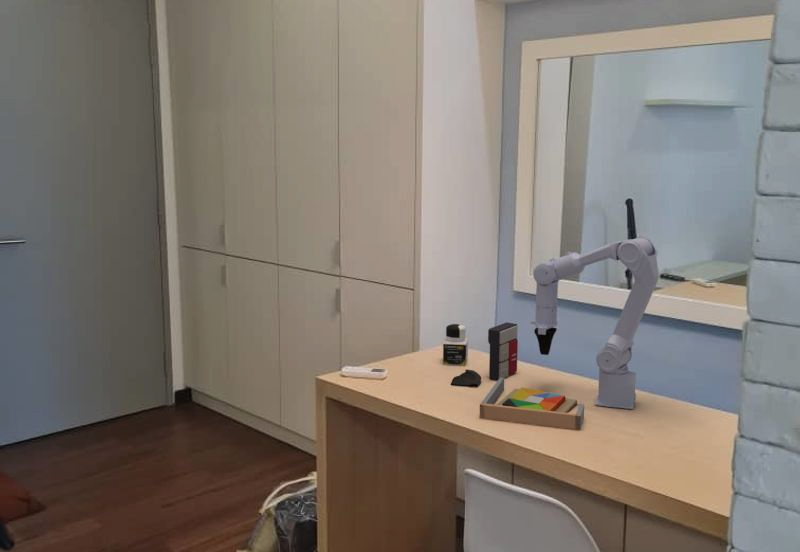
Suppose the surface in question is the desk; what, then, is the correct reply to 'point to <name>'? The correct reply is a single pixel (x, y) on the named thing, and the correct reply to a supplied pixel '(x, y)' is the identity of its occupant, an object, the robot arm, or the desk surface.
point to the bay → (527, 412)
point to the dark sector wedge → (467, 379)
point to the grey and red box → (503, 350)
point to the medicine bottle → (455, 346)
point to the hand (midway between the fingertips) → (544, 354)
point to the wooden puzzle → (538, 400)
